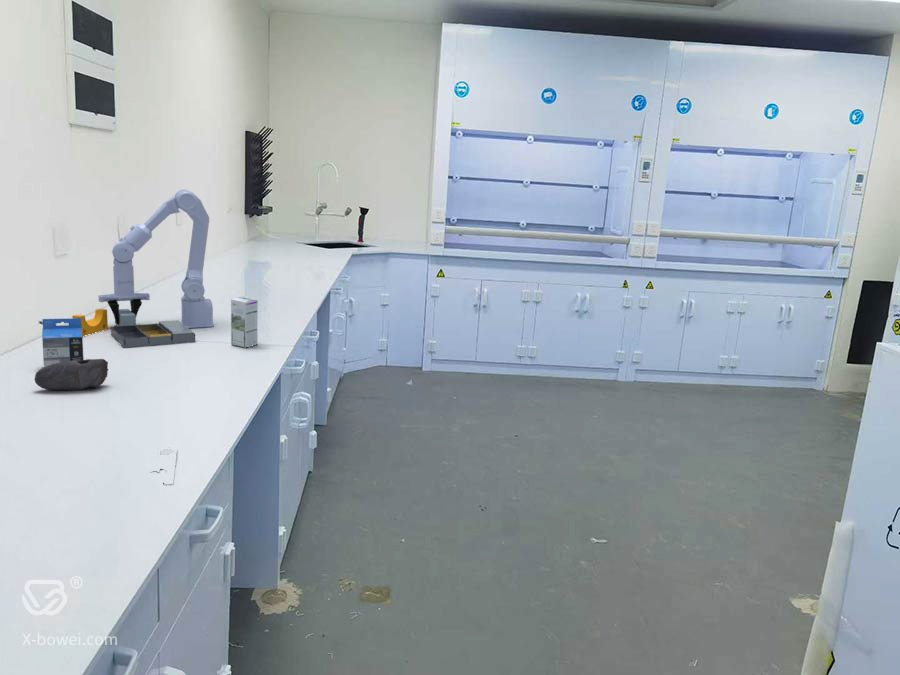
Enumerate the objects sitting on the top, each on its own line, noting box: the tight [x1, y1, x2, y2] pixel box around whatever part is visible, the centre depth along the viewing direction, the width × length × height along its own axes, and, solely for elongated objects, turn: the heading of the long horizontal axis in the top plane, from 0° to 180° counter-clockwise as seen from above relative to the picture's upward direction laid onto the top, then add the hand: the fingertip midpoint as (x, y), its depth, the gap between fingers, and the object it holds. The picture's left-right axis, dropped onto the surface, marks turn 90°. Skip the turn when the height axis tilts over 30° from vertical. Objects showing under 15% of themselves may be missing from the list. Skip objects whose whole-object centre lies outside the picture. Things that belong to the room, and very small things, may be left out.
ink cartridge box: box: [41, 317, 85, 368], centre depth 171 cm, size 9×4×12 cm, turn 117°
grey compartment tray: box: [110, 319, 196, 349], centre depth 205 cm, size 20×16×3 cm
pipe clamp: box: [72, 308, 109, 337], centre depth 206 cm, size 12×4×6 cm, turn 170°
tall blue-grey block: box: [114, 308, 137, 326], centre depth 215 cm, size 4×10×5 cm, turn 37°
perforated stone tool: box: [34, 358, 109, 391], centre depth 156 cm, size 15×5×7 cm, turn 114°
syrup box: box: [230, 296, 259, 349], centre depth 204 cm, size 6×6×14 cm
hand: (125, 323), depth 215 cm, fingers closed on tall blue-grey block, 4 cm apart
